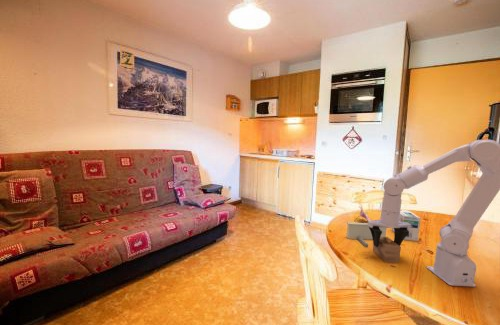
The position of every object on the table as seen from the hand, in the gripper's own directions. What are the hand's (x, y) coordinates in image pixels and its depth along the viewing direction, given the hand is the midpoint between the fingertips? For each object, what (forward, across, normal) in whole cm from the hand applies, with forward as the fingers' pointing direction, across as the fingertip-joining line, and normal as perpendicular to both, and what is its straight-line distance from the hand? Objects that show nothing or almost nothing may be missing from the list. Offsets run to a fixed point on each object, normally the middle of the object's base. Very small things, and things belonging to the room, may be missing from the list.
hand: (386, 246), depth 83 cm
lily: (+4, -8, -34) cm, 35 cm away
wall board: (+4, 0, -11) cm, 12 cm away
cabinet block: (+4, 0, 0) cm, 4 cm away
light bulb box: (+4, -20, -19) cm, 28 cm away
